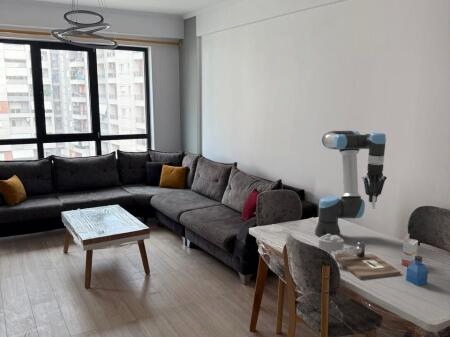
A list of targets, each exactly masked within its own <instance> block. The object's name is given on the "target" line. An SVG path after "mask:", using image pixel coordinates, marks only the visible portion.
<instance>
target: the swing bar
mask: <svg viewBox="0 0 450 337" xmlns="http://www.w3.org/2000/svg"><path fill="white" fill-rule="evenodd" d="M331 255H332V256H333V258H334V260H335V259H338V258H343V257H347V256H356V255H357V256H359V257H364V256H365V255H366V242H365V241H362V240H361V241H358V240H357V242H356V245H354V246H350V247H345V248H343V249H340V250H336V251H331ZM331 255H330V256H331ZM333 258H332V259H333Z"/></svg>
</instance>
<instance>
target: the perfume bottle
mask: <svg viewBox="0 0 450 337" xmlns="http://www.w3.org/2000/svg"><path fill="white" fill-rule="evenodd" d="M428 275H429V269H428V268H427V266H426V264H423V256H420V255H416V256H415V259H414V263H411V264H410V265H409V266H406V275H405V281H406V282H409V283H410V282H411V283H410V284H412V283H413V284H412V285H414V286H416V287H418V286H421V285H422V284H423V285H426V284H428Z"/></svg>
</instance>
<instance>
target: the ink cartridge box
mask: <svg viewBox="0 0 450 337" xmlns="http://www.w3.org/2000/svg"><path fill="white" fill-rule="evenodd" d="M418 244H419V240H417V239H413V238H410V233H408V234H406V235H405V236H404V239H403V245H402V257H401V265H403V266H406V267H408V266H409V265H410V264H411V263H414V259H415V256H418V255H417V254H418Z"/></svg>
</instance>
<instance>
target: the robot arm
mask: <svg viewBox="0 0 450 337" xmlns="http://www.w3.org/2000/svg"><path fill="white" fill-rule="evenodd" d="M386 139H387V136H386V134H385V133H384V132H371V133H364V134H361V133H360V132H359V131H357V130H331V131H328V132H326V133H324V134H323V136H322V138H321V143H322V145H323V146H324V147H325V148H326V149H330V150H339V154H340V155H341V156H342V185H343V187H342V191H343V193H342V195H341V198H340V196H335V195H334V196H332V195H329V196H323V197H322V198H319V203H318V204H319V205H318V222H317V225H316V227H315V229H314V235H315V236H317V237H319V238H320V237H322V236H324V235H326V234H331V235H338V236H339V237H340V238H341V229H340V226H339V219H353V220H355V219H360V218H363V216H364V214H365V209H366V204H365V200H364V199H363V198H362V195H360V194H359V183H358V181H359V179H358V178H359V176H358V157H357V155H358V154H359V153H360V150H368V156H367V173H366V175H365V176H362V177H361V179H362V180H363V184H364V192H365V195H367V196H368V202H369V208H370V209H372V210H375V209H376V202H378V201H377V200H378V197H379V196H380V195H382V191H383V188H384V185H385V181H386V180H387V176H385V175H384V173H383V171H384V163H385V152H386V143H387V140H386Z"/></svg>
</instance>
